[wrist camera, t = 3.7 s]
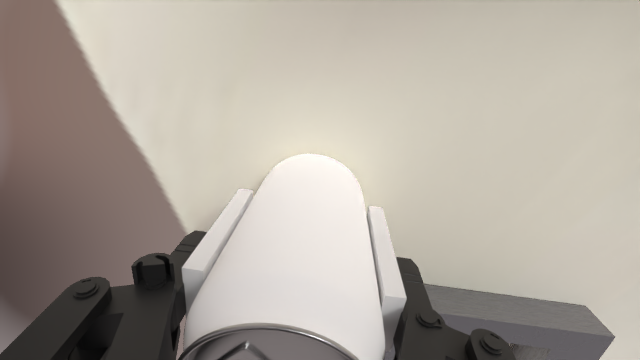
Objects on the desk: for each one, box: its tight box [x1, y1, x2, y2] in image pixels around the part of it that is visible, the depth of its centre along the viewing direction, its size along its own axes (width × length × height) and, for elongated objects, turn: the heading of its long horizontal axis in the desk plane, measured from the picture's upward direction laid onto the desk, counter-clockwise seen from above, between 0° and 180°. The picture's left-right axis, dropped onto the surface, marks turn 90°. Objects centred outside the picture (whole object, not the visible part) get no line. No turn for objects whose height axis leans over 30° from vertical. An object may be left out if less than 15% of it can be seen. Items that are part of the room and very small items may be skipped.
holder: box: [384, 284, 615, 360], centre depth 22 cm, size 11×26×2 cm, turn 83°
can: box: [178, 154, 385, 360], centre depth 14 cm, size 6×6×12 cm
